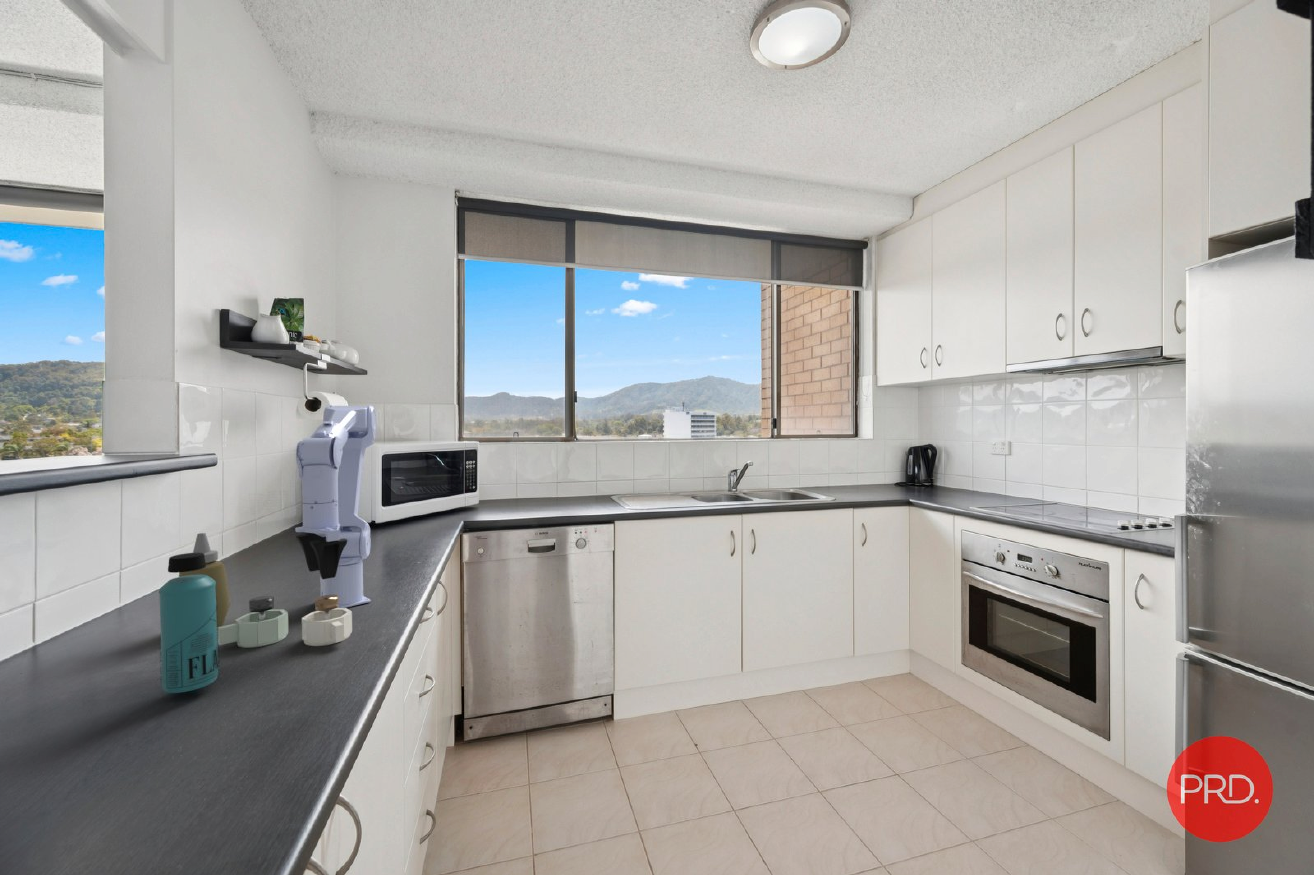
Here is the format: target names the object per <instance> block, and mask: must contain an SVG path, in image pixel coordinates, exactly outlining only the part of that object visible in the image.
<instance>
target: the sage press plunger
mask: <svg viewBox="0 0 1314 875" xmlns="http://www.w3.org/2000/svg"><path fill="white" fill-rule="evenodd" d="M248 604H249V608H248V610H249V612H250V613H253V612H259V622H260V621H264V620H265V611H267V610H274V609H275V596H273V595H264V596H263V595H261V596H257V597H256V596H255V597H253V598H250V600H248Z"/></svg>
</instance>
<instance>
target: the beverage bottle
mask: <svg viewBox="0 0 1314 875" xmlns="http://www.w3.org/2000/svg"><path fill="white" fill-rule="evenodd" d="M205 567H206V562H205V555H204V553H193V552H185V553H180V554H175V555H172V556H170V557H169V558H168V567H167V572H168V573H174V574H176V573H177V574H178V573H179V572H188V571H194V570H199V569H202V568H205ZM215 585H216V582H215V580H213V579H212V578H210V577H209V576H207V575H188V576H181V577H179V576H178V577H173V578H171V579H169V580H168V581H167V582H165V583H164V584H163V585H162V586H161V587H160V589H159V590H158V594H159V596H158V597H159V616H160V617H159V618H160V619H159V620H160V621H159V622H160V623H159V624H160V640H159V642H160V645H159V648H160V650H159V662H160V667H159V670H160V673H159V678H160V681H161V682H160V683H159V684H160V685H161V688H162V690H163V691H164V692H165V693H167V694H168V693H169V694H177V693H179V694H180V693H186V692H191V691H194V690H198V689H201V688H204V687H206V686H209V685H211V684H212V683H214V682H215V681H216V680H217V678H218V676H219V674H220V665H219V664H220V661H219V650H220V647H219V646H220V645H219V644H218V639H219V638H218V637H219V636H218V628H217V626H218V625H217V623H218V622H217V615H216V610H217V612H218V608H217V609H216V598H217V597H216V592H215ZM217 602H218V601H217Z"/></svg>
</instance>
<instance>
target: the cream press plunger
mask: <svg viewBox="0 0 1314 875" xmlns="http://www.w3.org/2000/svg"><path fill="white" fill-rule="evenodd" d="M338 606H339V599H338V595H324V596H321V595H320V596H317V597H316V598H314V608H315V609H314V610H315V612H316V611H324V620H329V619H330V610H332V609H335V608H337V607H338Z"/></svg>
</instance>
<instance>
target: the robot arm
mask: <svg viewBox="0 0 1314 875" xmlns="http://www.w3.org/2000/svg"><path fill="white" fill-rule="evenodd" d="M376 432H377V413H376V408H375V407H374V406H373V405H371V404H368V405H331V404H328V405H327V406H326V407H325V408H324V411H323V422H322V423H321V424H320V425H319V426H318V427H317V428H316V429H315V431H314V432H313V433H312V434H311V436H310V437H304V438H303V439H302V440H299V441H297V444H296V448H295V450H296V451H295V459H296V460H295V461H296V464H297V467H298V476H299V479H301V496H302V497H301V498H302V499H301V501H302V502H301V503H302V504H301V505H302V507H301V508H302V526H298V527H295V528H294V529H295V532H296V533H304V534H298V535H296V536H295V538H296V540H297V541H298V543H299V544H300V546H301V549H302V551H303V555H304V557H305V561H306V565H307V568H308V571H309V572H316V571H319V579H320V580H319V582H320V585H319V586H320V596H324V595H338V599H339V606H338V607H337V608H350V607H354V606H358V605H362V604H366V603H370V602H372V601H371V599H370V598H368V597H366V596H364V576H363V575H364V573H363V572H364V569H363V568H364V566H363V565H364V564H363V561H364V560H365V559H367V558H368V557H369V555H370V553H371V544H372V540H371V538H372V537H371V527H370V524H369V523H368V522H367V521H366V520H364V519H363V518H361V517H359V506H360V497H361V496H360V494H361V484H362V476H363V467H364V466H363V464H364V457H365V455H366V454H365V453H366V449H367V448H369V447H371V446H373V445H374V442H375V439H376Z"/></svg>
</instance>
